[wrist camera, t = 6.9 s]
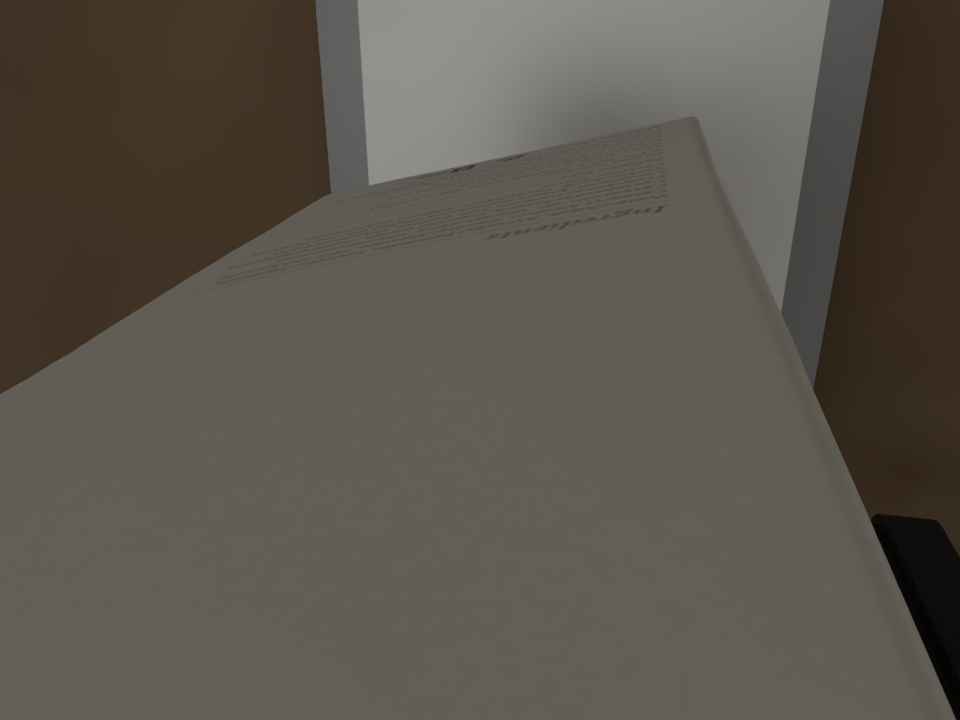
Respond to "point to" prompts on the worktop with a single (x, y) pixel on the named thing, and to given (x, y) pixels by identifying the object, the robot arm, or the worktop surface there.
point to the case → (619, 103)
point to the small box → (453, 473)
